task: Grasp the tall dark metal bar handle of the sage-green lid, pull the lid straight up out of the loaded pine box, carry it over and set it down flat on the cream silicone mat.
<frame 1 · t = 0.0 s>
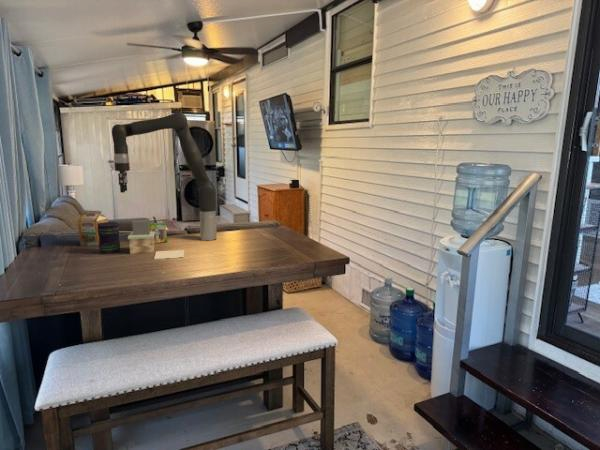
hand: (123, 191, 222), 29 cm above the table, fingers open, 8 cm apart
lid: (141, 236, 209), point 8 cm above the table, touching box
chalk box: (157, 241, 232), on the table
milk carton: (95, 244, 224), on the table
dark blue cylinder: (110, 252, 208), on the table
box: (142, 250, 211), on the table
mat: (169, 254, 204), on the table
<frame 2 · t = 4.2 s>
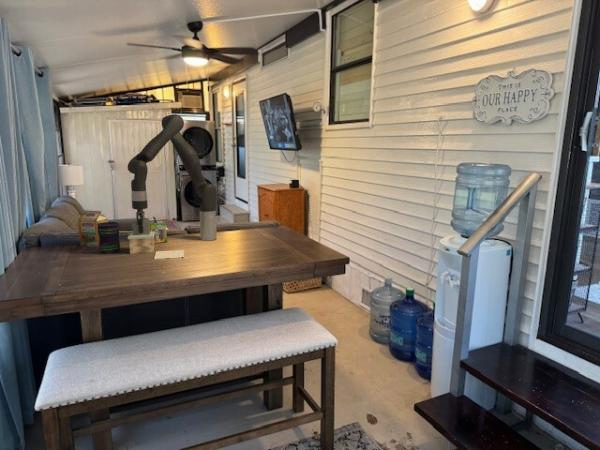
hand: (141, 232, 209), 10 cm above the table, fingers closed on lid, 3 cm apart
lid: (141, 236, 209), point 8 cm above the table, touching box, gripper
everything else where it was.
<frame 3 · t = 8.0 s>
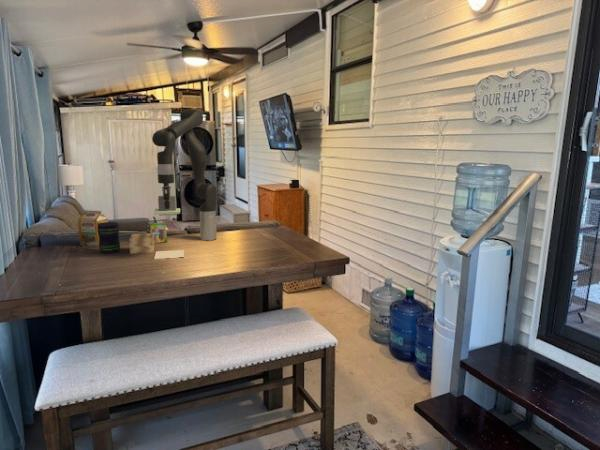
hand: (167, 207, 199), 24 cm above the table, fingers closed on lid, 3 cm apart
lid: (167, 212, 200), point 22 cm above the table, touching gripper
everything else where it was.
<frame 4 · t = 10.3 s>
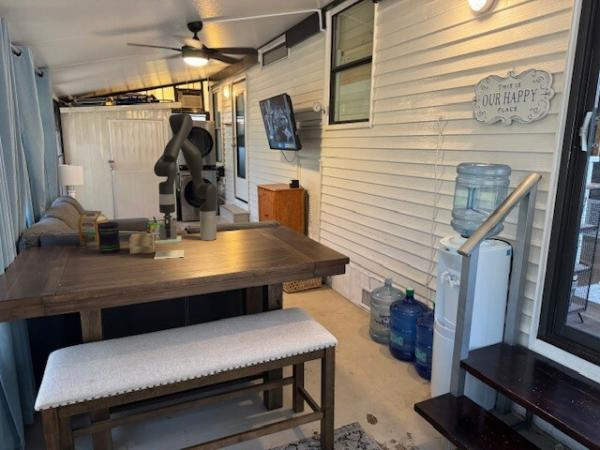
hand: (168, 236, 202), 10 cm above the table, fingers closed on lid, 3 cm apart
lid: (168, 240, 202), point 7 cm above the table, touching gripper
everything else where it was.
when the fingers open (5 cm above the table, at t = 12.2 s): lid drops 1 cm, resting on mat.
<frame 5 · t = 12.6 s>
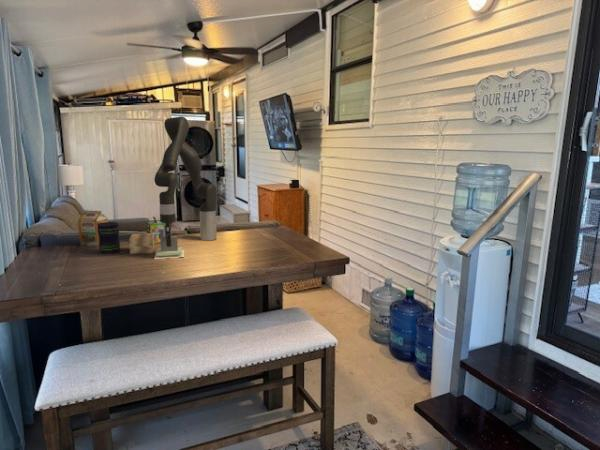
hand: (169, 244, 203), 5 cm above the table, fingers open, 7 cm apart
lid: (169, 252, 204), point 1 cm above the table, touching mat
everything else where it was.
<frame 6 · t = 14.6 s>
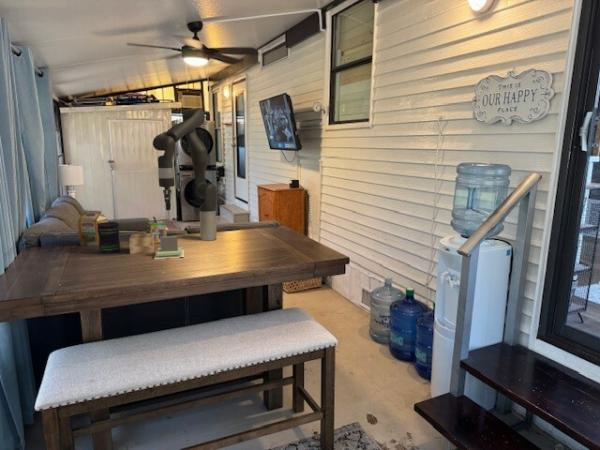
hand: (168, 208, 204), 23 cm above the table, fingers open, 8 cm apart
nothing on the table moved.
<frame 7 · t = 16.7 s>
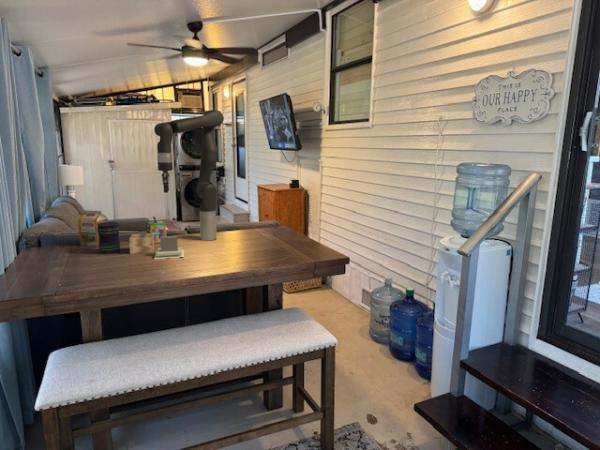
hand: (166, 191, 217), 30 cm above the table, fingers open, 8 cm apart
nothing on the table moved.
at the end: lid inside the target area on the mat (0.0 cm from its centre), point 1.4 cm above the mat's base; lid tilted 0°; lid touching mat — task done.
